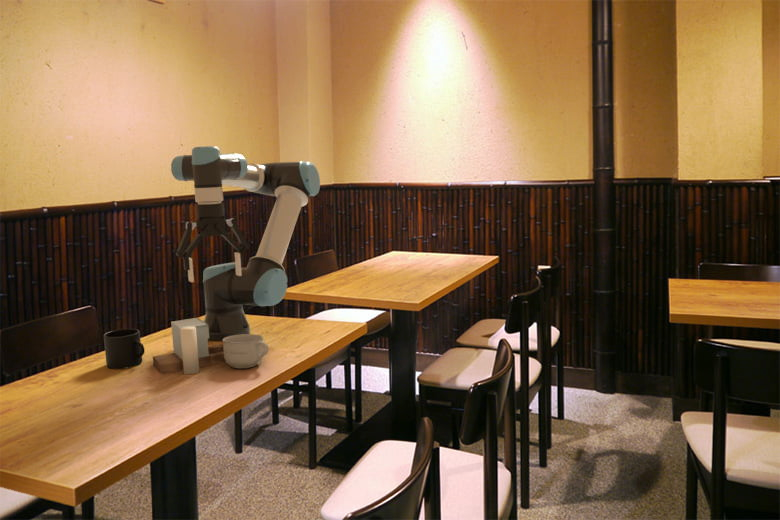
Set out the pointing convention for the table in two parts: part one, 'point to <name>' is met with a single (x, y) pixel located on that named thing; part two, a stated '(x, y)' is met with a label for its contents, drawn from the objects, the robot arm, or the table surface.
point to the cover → (201, 334)
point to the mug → (123, 348)
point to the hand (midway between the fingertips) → (215, 278)
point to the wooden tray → (175, 363)
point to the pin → (189, 350)
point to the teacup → (244, 350)
